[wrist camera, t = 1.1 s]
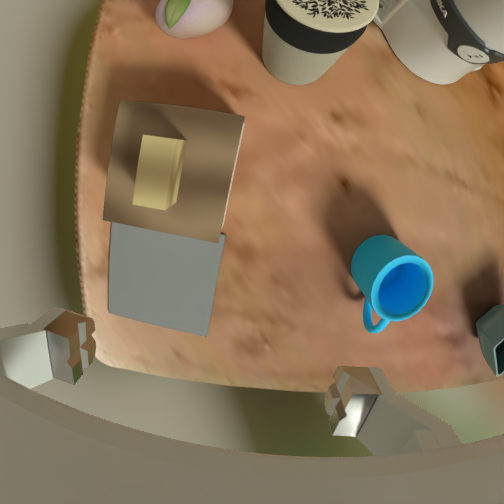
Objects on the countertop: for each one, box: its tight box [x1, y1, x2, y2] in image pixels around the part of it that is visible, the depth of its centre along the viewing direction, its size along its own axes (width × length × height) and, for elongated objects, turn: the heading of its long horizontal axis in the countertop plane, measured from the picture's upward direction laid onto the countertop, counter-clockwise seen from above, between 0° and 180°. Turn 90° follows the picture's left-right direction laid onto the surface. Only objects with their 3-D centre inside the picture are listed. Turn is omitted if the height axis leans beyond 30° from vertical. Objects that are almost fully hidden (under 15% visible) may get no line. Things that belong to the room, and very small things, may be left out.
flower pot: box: [476, 305, 504, 377], centre depth 39 cm, size 9×9×9 cm
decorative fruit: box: [155, 0, 234, 39], centre depth 25 cm, size 9×8×10 cm
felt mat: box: [109, 222, 226, 337], centre depth 40 cm, size 15×15×1 cm
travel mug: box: [262, 0, 379, 85], centre depth 23 cm, size 8×8×18 cm
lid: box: [103, 100, 245, 243], centre depth 27 cm, size 12×12×5 cm
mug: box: [351, 235, 433, 333], centre depth 36 cm, size 12×8×8 cm
